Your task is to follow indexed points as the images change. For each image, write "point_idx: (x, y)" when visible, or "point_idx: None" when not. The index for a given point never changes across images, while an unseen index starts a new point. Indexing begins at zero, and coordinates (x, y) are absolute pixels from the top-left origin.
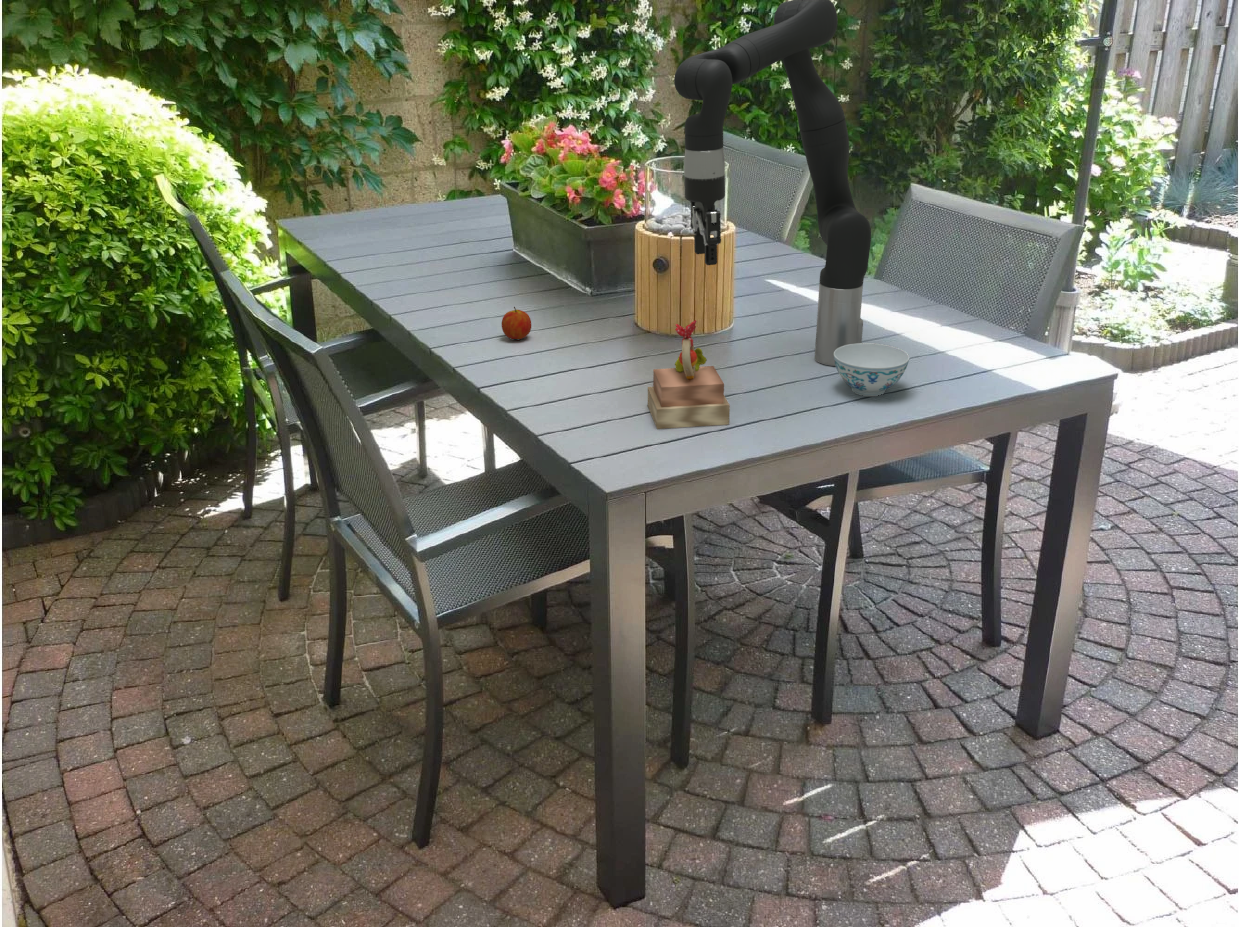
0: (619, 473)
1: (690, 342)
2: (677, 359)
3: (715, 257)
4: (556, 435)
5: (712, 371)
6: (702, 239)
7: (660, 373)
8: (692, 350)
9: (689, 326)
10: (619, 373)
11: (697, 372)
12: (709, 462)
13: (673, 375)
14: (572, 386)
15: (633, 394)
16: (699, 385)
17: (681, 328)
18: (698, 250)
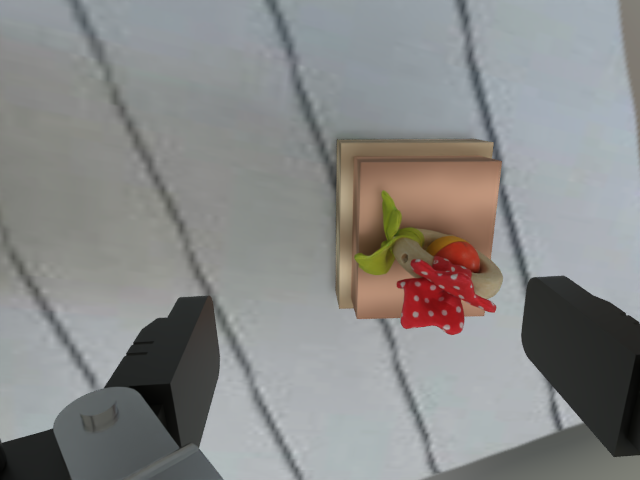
0: None
1: (473, 275)
2: (373, 271)
3: (623, 315)
4: (444, 451)
5: (404, 173)
6: (188, 387)
7: (389, 306)
8: (464, 260)
9: (486, 299)
10: (133, 325)
11: (403, 215)
12: (637, 216)
13: (411, 277)
14: (207, 418)
15: (267, 310)
16: (493, 226)
17: (422, 307)
18: (213, 361)
